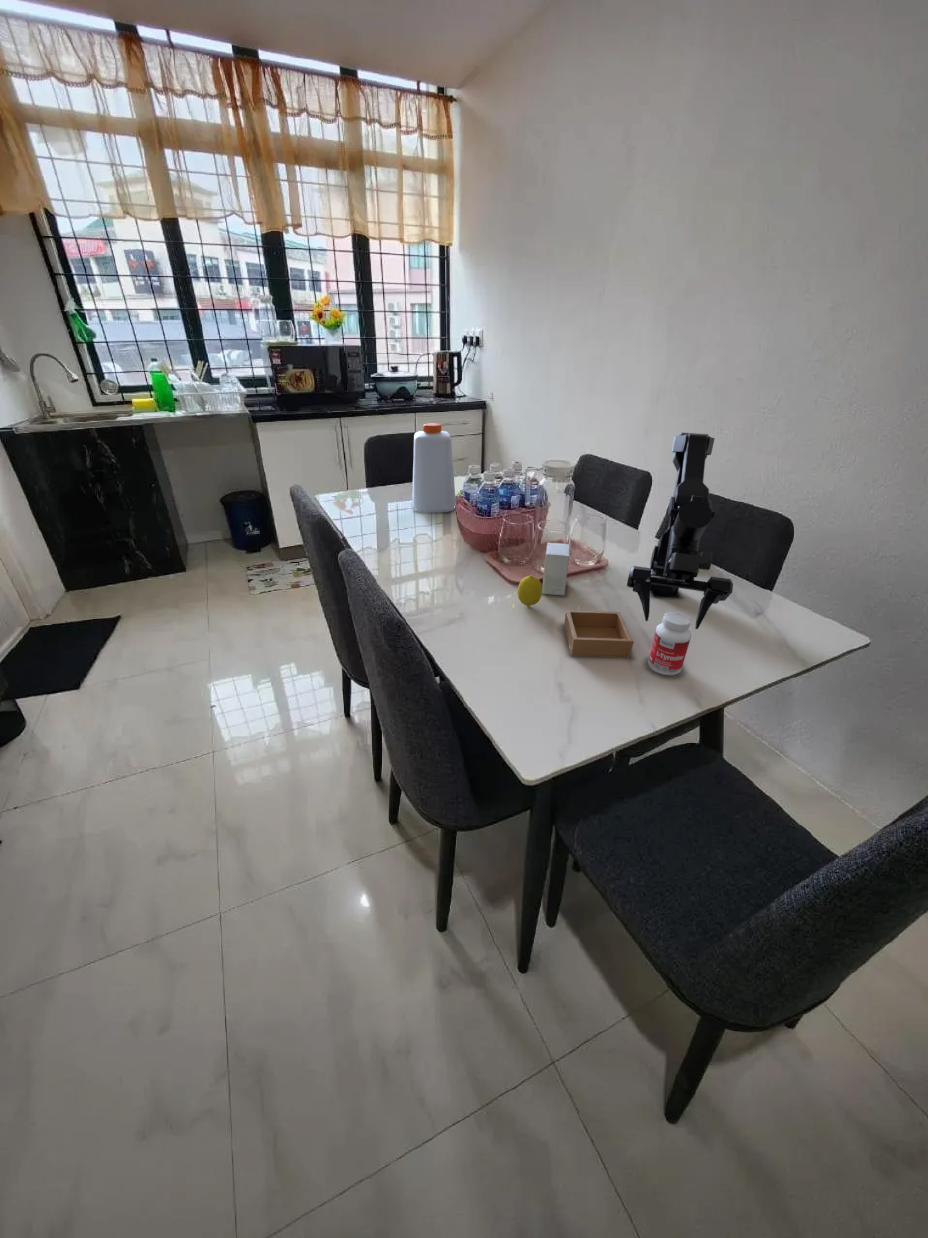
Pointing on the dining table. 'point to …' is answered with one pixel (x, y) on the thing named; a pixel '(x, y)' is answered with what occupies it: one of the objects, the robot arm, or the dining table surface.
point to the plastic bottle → (433, 470)
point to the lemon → (529, 590)
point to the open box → (597, 634)
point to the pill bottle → (670, 644)
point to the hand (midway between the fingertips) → (671, 624)
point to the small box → (556, 568)
